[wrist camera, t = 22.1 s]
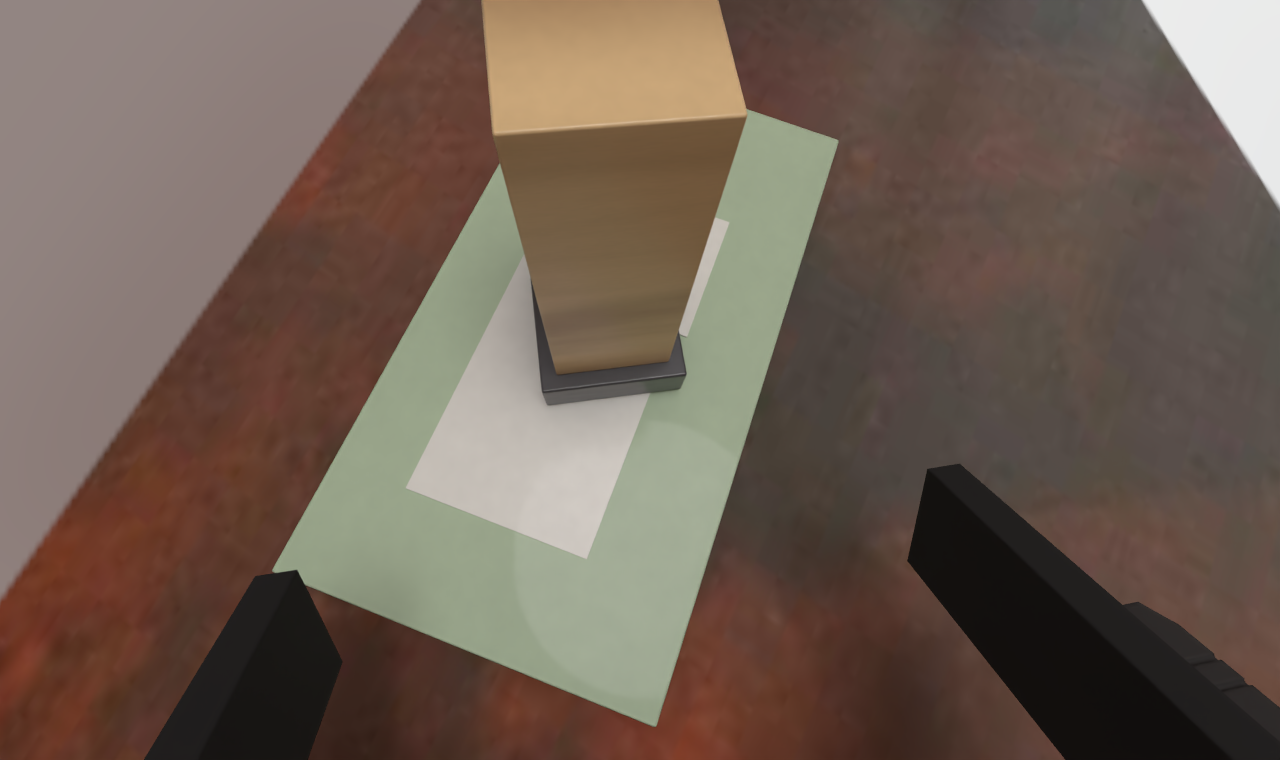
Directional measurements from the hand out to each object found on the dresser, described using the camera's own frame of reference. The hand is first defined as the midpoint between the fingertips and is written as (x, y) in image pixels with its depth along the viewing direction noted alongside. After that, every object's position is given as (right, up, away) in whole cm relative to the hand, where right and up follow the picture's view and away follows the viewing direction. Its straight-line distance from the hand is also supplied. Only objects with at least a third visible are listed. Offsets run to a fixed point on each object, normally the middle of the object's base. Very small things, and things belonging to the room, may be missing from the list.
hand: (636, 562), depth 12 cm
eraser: (-1, +6, +7) cm, 10 cm away
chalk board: (-1, +6, +8) cm, 10 cm away
